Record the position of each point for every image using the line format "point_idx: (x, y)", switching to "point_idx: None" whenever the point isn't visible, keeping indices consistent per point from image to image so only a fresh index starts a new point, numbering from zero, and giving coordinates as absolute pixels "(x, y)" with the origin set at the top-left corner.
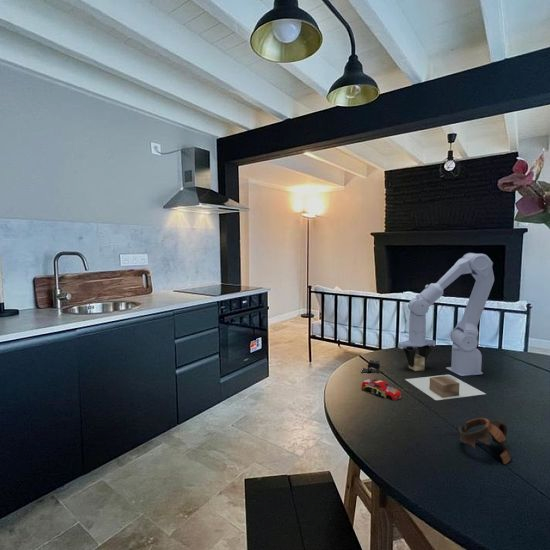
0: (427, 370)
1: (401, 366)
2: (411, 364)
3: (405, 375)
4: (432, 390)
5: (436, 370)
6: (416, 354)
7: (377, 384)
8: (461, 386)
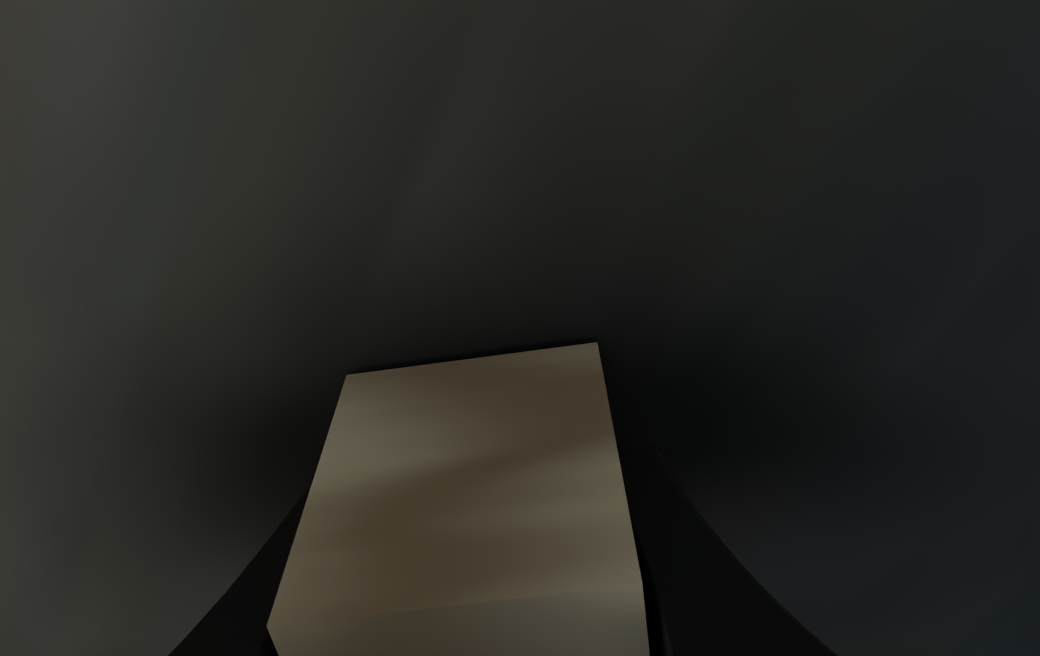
0: (705, 496)
1: (213, 246)
2: None
3: (169, 648)
4: None
5: (887, 508)
6: (572, 596)
7: None
8: None
